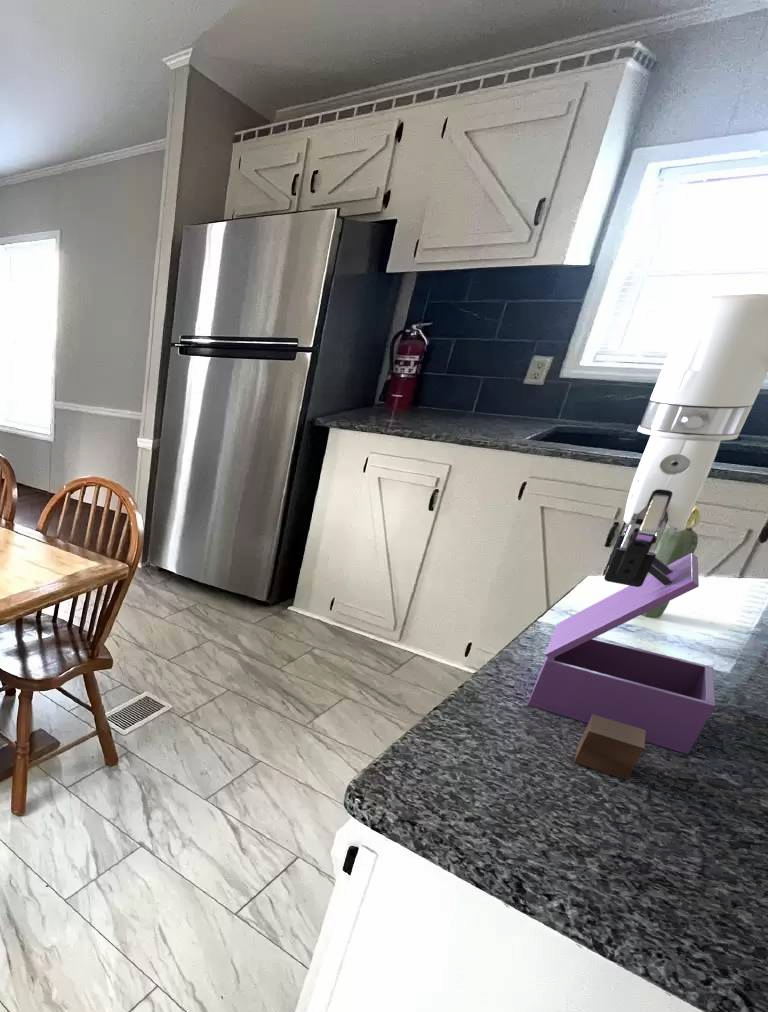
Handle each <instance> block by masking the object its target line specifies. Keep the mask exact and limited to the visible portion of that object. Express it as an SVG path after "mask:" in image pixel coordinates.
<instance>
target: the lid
mask: <svg viewBox="0 0 768 1012" xmlns="http://www.w3.org/2000/svg"><path fill="white" fill-rule="evenodd" d="M648 572H649V573H650V574H651V575H649V576H647V577H646V578H645V580H644V582H643V585H642V586H640V587H635V586H629V585H627V586H626V587H624V588H622V589H621V590H618V591H617V592H615V593H613V594H610V595H608V596H606V597H605V598H603V599H601V600H599V601H598V602H595V603H594V604H592V605H590V606H588V607H586V608H584V609H582V610H580V611H578V612H576V613H574V614H572V615H571V616H569V617H567V618H565V619H563V620H562V621H560V622H557V623H556V625H555V627H554V630H553V633H552V635H551V637H550V640H549V643H548V646H547V648H546V650H545V653H544V655H545V657H546V656H547V657H548V658H549V659H552V658H554V657H556V656H558V655H560V654H562V653H564V652H566V651H569V650H571V649H573V648H575V647H577V646H579V645H581V644H583V643H585V642H587V641H589V640H591V639H593V638H597V637H600V636H601V635H603V634H605V633H608V632H609V631H612V630H613V629H615V628H617V627H620V626H622V625H624V624H626V623H627V622H630V621H631V620H634V619H635V618H638V617H639V616H642V614H644V613H646V612H648V611H650V610H652V609H654V608H656V607H658V606H660V605H662V604H664V603H666V602H668V601H669V602H671V601H672V600H675V599H677V598H678V597H680V596H682V595H684V594H686V593H689V592H690V591H692V590H694V589H696V588H698V587H700V583H699V582H700V580H699V558H698V556H697V555H696V554H694V553H690V554H688V555H687V556H685V557H683V558H681V559H679V560H677V561H675V562H673V563H671V564H669V565H668V566H667V565H666V564H664V563H663V562H662V561H661V560H659V559H658V558H657V557H656V556H655V558H654V560H653V563H652V565H651V567H650V569H649V571H648Z"/></svg>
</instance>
